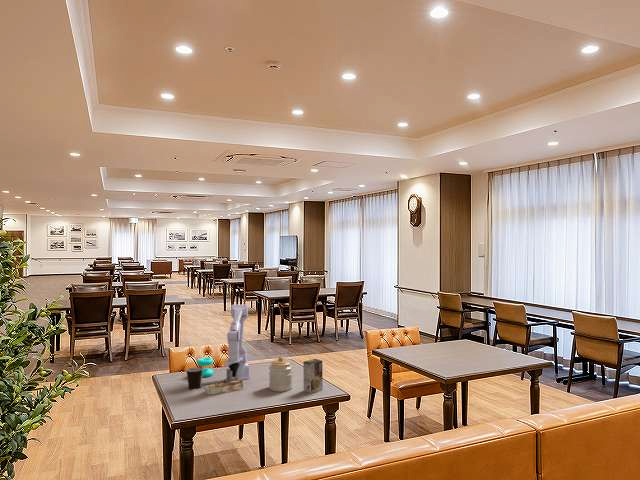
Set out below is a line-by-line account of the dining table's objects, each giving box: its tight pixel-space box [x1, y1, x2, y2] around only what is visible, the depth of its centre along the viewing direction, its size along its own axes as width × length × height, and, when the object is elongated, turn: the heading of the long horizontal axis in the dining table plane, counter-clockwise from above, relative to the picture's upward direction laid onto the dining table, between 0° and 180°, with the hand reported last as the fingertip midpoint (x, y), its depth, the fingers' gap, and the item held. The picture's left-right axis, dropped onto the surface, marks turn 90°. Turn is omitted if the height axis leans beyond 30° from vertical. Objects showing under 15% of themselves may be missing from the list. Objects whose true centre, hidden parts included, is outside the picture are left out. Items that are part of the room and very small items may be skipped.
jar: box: [268, 356, 293, 393], centre depth 256 cm, size 13×13×18 cm
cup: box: [204, 383, 222, 396], centre depth 249 cm, size 6×7×3 cm
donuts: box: [196, 357, 214, 378], centre depth 281 cm, size 10×10×10 cm
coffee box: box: [303, 358, 324, 394], centre depth 253 cm, size 9×6×16 cm
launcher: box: [215, 378, 244, 394], centre depth 255 cm, size 12×9×4 cm
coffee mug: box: [186, 367, 203, 390], centre depth 259 cm, size 12×9×10 cm
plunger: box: [223, 368, 232, 384], centre depth 254 cm, size 3×5×7 cm, turn 34°
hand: (233, 376), depth 256 cm, fingers closed
